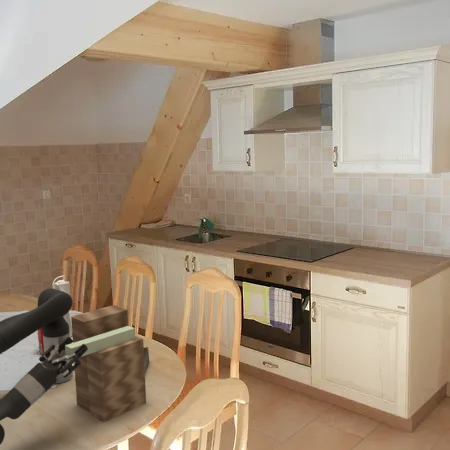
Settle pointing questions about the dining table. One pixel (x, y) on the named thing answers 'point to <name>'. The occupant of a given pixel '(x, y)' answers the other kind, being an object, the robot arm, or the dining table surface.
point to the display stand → (109, 366)
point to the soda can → (40, 341)
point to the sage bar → (103, 341)
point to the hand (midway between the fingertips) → (78, 342)
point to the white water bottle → (65, 288)
